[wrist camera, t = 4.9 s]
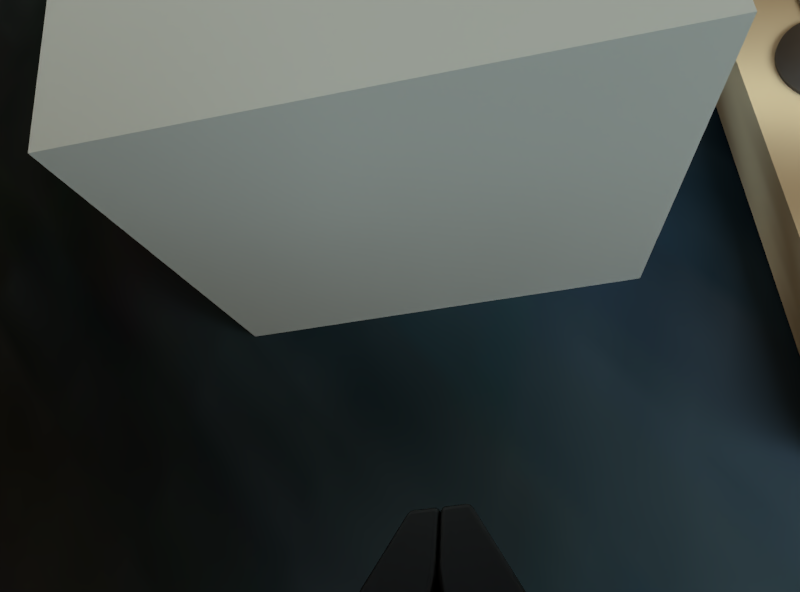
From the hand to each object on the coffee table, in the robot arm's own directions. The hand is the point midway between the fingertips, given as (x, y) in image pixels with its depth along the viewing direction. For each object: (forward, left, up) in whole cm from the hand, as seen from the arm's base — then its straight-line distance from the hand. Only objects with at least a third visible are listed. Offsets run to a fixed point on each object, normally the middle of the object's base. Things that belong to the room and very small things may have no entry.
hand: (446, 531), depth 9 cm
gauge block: (+10, 0, -7) cm, 12 cm away
